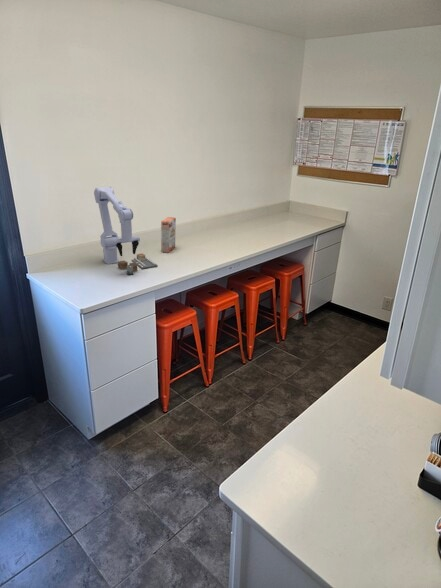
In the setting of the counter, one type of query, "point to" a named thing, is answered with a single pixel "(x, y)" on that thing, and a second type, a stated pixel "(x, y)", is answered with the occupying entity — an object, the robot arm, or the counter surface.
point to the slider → (141, 257)
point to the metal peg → (129, 269)
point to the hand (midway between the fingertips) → (127, 254)
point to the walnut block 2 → (134, 266)
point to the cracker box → (168, 234)
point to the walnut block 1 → (122, 265)
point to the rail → (144, 263)
